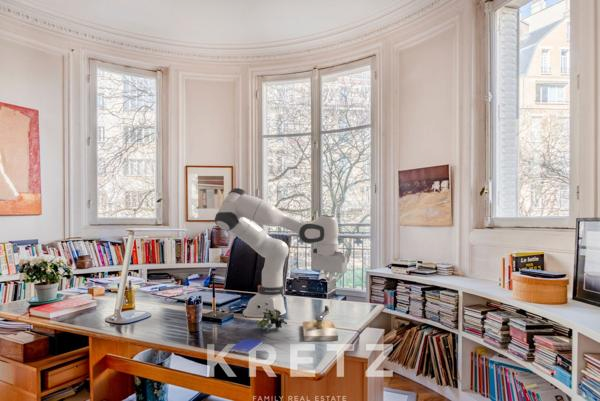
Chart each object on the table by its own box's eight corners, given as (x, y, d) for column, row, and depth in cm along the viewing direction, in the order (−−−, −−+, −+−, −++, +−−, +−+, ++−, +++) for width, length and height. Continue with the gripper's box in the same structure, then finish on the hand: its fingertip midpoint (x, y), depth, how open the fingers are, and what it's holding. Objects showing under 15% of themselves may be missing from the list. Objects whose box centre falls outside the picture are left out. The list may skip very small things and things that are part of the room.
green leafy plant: (277, 340, 172) (292, 319, 171) (265, 343, 162) (281, 321, 161) (260, 323, 177) (275, 303, 176) (248, 325, 167) (263, 304, 166)
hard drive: (248, 350, 142) (262, 340, 154) (229, 348, 145) (245, 338, 157) (248, 355, 142) (262, 344, 154) (229, 352, 145) (245, 341, 157)
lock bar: (321, 320, 163) (321, 313, 164) (314, 320, 165) (314, 312, 165) (330, 313, 176) (330, 305, 176) (324, 312, 177) (324, 305, 177)
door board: (304, 341, 155) (304, 327, 155) (302, 325, 176) (302, 313, 176) (338, 340, 156) (338, 327, 156) (332, 324, 177) (332, 313, 177)
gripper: (350, 251, 167) (350, 283, 166) (319, 248, 183) (319, 276, 182) (339, 253, 163) (340, 285, 162) (309, 249, 179) (309, 278, 179)
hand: (329, 280), depth 173 cm, fingers closed
